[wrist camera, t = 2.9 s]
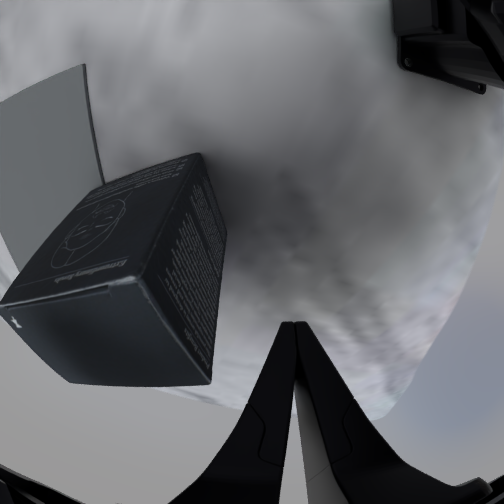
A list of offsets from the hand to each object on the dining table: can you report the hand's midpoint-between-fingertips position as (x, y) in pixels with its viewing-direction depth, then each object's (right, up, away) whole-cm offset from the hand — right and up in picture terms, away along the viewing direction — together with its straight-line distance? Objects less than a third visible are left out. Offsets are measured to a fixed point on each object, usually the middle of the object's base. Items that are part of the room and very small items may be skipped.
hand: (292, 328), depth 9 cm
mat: (-18, +5, +8) cm, 20 cm away
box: (-7, +5, +8) cm, 12 cm away
